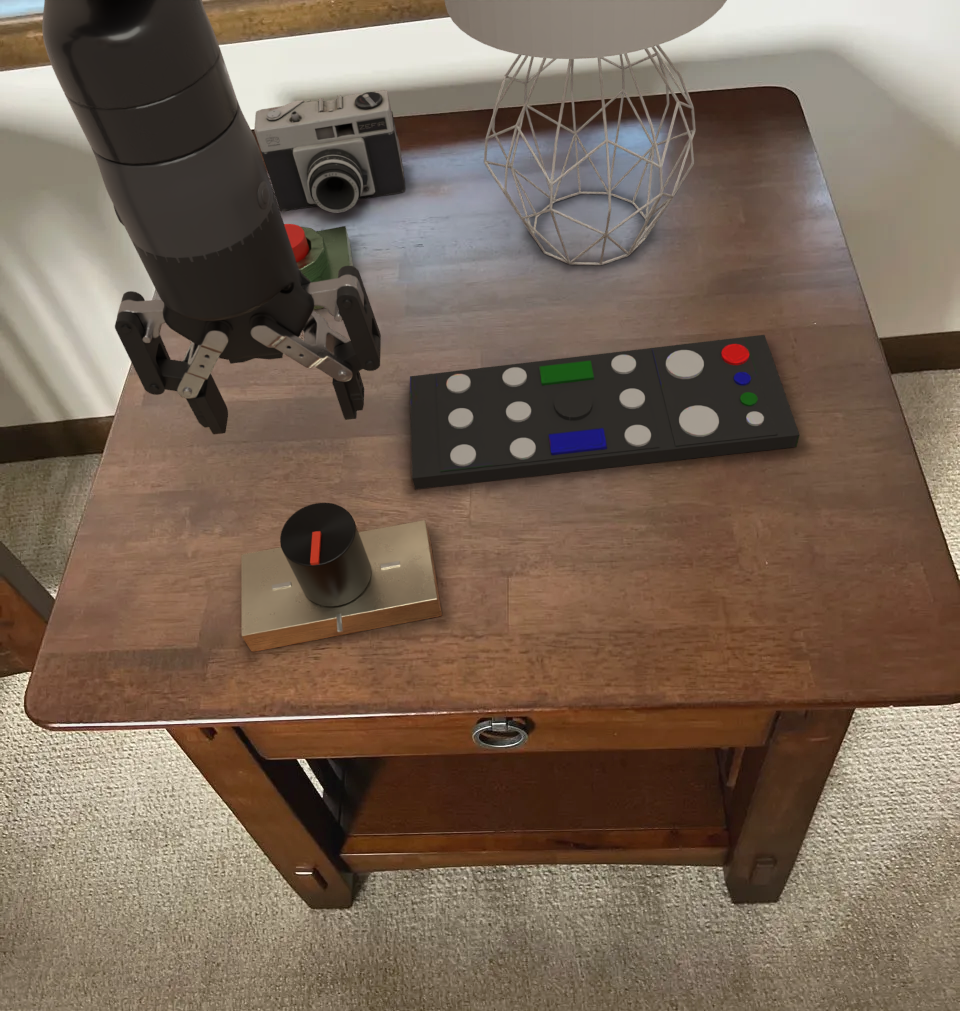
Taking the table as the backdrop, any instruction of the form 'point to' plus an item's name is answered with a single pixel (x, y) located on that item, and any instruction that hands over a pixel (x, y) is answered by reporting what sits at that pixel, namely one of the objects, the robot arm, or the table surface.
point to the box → (325, 254)
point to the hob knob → (326, 554)
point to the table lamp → (572, 35)
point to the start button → (297, 241)
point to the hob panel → (385, 602)
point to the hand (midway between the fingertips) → (286, 417)
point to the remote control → (598, 412)
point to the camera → (331, 151)
